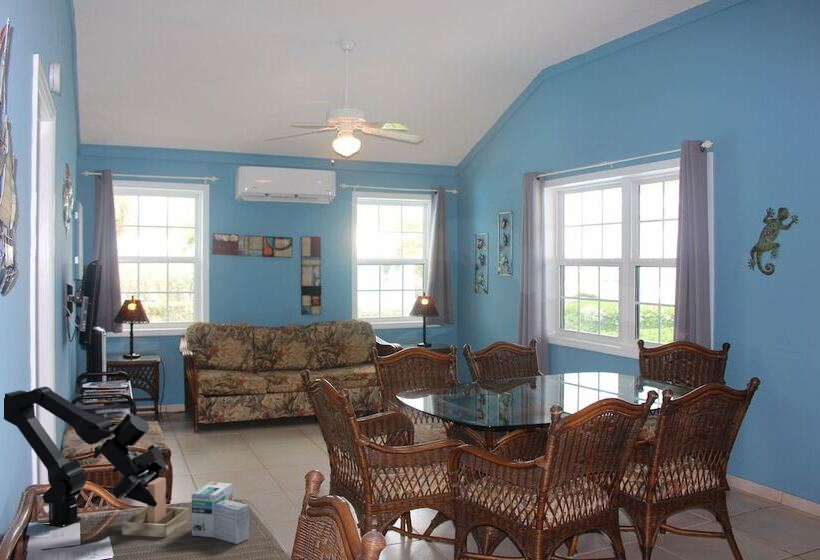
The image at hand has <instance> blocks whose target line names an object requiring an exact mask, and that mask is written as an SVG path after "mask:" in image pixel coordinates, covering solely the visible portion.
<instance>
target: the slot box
mask: <svg viewBox="0 0 820 560" xmlns="http://www.w3.org/2000/svg"><path fill="white" fill-rule="evenodd" d="M190 513H191V510H190V507H174V506H173V507H172V506H171V507H170V506H166V515H165V516H163V517H162V518H160V519H159V520H158V521H156V522H155V523H153V524H151V523H148V518H147V506H145V507H144V508H142V509H141V510H139V511H138V512H136V513H135V514H134V515H132V516H130V517H129V518H127V519H126V520H124V521H123V522H121V535H122V536H139V537H140V536H141V537H157V538H158V537H159V538H160V537H161V538H167V537H169V536H170V535H171V534H173V533H174V532H176V531H177V530H178V529H179V528H180V527H182V526H183V525H185V524H186V523H187V522H188V521H189V520H190V518H191V517H190V516H191V514H190Z"/></svg>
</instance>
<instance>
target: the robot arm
mask: <svg viewBox="0 0 820 560" xmlns="http://www.w3.org/2000/svg"><path fill="white" fill-rule="evenodd" d="M4 394H5V398H4V418H3V420H4V421H6V422H7V423H10V424H12V425H13V426H15V427H16V428H17V429H18V430H19V432H20V433H21V434H22V436H23V437H24V439H25V440H26V441H27V443H28V445H29V446H30V447H31V449H32V450H33V452H34V453H35V454H36V455H37V457H38V458H39V460H40V461H41V463H42V464H43V466H44V467H45V468H46V471H47V480H48V484H49V485H50V487H49V488H48V489H47V490H46V491H45V492H44V493H43V494H42V499H43V502H44V504H48V520H45V521H44V523H50V524H53V525H52V526H54V525H59V526H58V527H60V526H63V525H66V526H68V525H70V524H73V523H75V522H77V521H80V520H81V519H82V517H81V516H78V504H77V497H76V496H78V495H80V494H81V492H82V489H83V488H84V487H85V485H86V482H87V474H86V473H85V472H86V471H87V470H86V469H85V468H83V467H82V465H81V464H80V461H78V459H76V458H75V459H73V460H69V459H67V458H65V456H64V455H63V453H62V452H61V451H60V449H59V447H58V446H57V445H56V443H55V442H54V440H52V438H51V437H50V435H49V433H48V432H47V431H46V430H45V428H44V427H43V425H42V423H40V421H39V419H38V418H37V417H36V415H35V413H36V412H35V404H36V405H38V406H40V407H41V408H42V409H44V410H46V411H47V412H49V413H50V414H52V415H54V416H55V417H57V418H58V419H60V420H61V421H63V422H64V423H66V424H67V425H69V426H70V427H71V428H73V430H74V431H75V434H76V435H77V436H78V438H80V439H81V440H82V441H83V442H84V443H86V444H87V445H95V444H98V443H101V442H103V441H104V442H103V443H102V444H101V445H97V446H95V447H94V453H93V458H94V459H97V458H99V457H101V456H103V457H104V458H105V459H106V460H107V461H108V462H109V464H110V465H111V466H113V468H114V469H112V472H113V473H114V474H118V473H119V474H120V476H121V477H122V478H121V479H120V480H119V481H118V483H116V485H115V486H114V487H113V488H112V489H111V495H112V496H113V497H114V498H115V499H116V500H119V499H121V498H122V497H123V498H124V499H130V500H133V501H136V502H139V503H141V504H142V503H143V504H145V505H150V506H153V507H155V506H156V505H157V502H156V501H155V499H154V498H153V496H152V495H151V494H150V492H149V491H148V490H147V484H148V483H150V482H152V481H154V480H155V479H157V478H159V477H160V478H163V477H162V476H163V471H164V468H165V467H166V466H167V463H166V461H164V459H162V458H163V455H162V453H163V448H162V447H161V446H160V445H159V444H157V443H153V444H151V445H150V446H148V447H147V451H145V452H142V453H140V451H137V450H135V451H132V449H131V448H130V447H134V446H136V444H137V443H139V441H141V439H142V438H143V437H145V435H146V434H147V432H149V430H150V426H149V425H150V424H148V422H147V421H146V420H145V419H143V418H141V417H140V416H137V415H135V414H134V413H133V412H130V413H127V414H126V415H125V416H124V417H123V419H122V421H120V423H116V422H112V421H111V420H109V419H108V418H107V417H103V416H100V415H99V414H95V413H90V412H87V411H85V410H83V409H81V408H80V407H78V406H77V405H75V404H73V403H72V402H70V401H69V400H67V399H66V398H64V397H63V396H61V395H59V394H57V393H56V392H55V391H54V390H53V389H52V388H51V387H48V386H41V387H37V388H33V389H32V390H29V391H25V390H15V391H12V392H11V391H10V392H7V393H4ZM112 436H113V437H112ZM111 437H112V438H111ZM125 492H126V494H125ZM169 497H170V496H169V492H168V490H167V489H166V500H167V499H168V498H169ZM44 523H43V524H44ZM67 524H68V525H67ZM63 527H64V526H63Z"/></svg>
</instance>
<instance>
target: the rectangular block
mask: <svg viewBox="0 0 820 560" xmlns="http://www.w3.org/2000/svg"><path fill="white" fill-rule="evenodd" d="M147 490H148V491H149V492H150V494H151V495H152V496H153V498H154V499H155V501H156V502H157V505H156V506H155V507H153V506H150V505H147V504H146V505H147V506H146V507H147V518H148V523H151V524H153V523H155V522H156V521H158V520H159V519H160V518H162V517H163V516H165V515H166V507H167V499H166V490H167V478H166V477H162V478H160V477H159V478H157V479H155V480H154V481H152V482H150V483H148V484H147Z"/></svg>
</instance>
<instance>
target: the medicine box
mask: <svg viewBox="0 0 820 560" xmlns="http://www.w3.org/2000/svg"><path fill="white" fill-rule="evenodd" d="M249 517H250V516H249V505H248V504H247V503H246V504H245V503H241V502H238V501H234V500H233V501H230V500H225V501H222V502H219V503H217V504H215V505H214V537H213V538H214V539H217V540H221V541H225V542H228V543H230V544H231V543H232V544H234V545H238V544H240V543H242V542H244V541H247V540H249V538H250V531H249V530H250V529H249V527H250V526H249V521H250V520H249Z"/></svg>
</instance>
